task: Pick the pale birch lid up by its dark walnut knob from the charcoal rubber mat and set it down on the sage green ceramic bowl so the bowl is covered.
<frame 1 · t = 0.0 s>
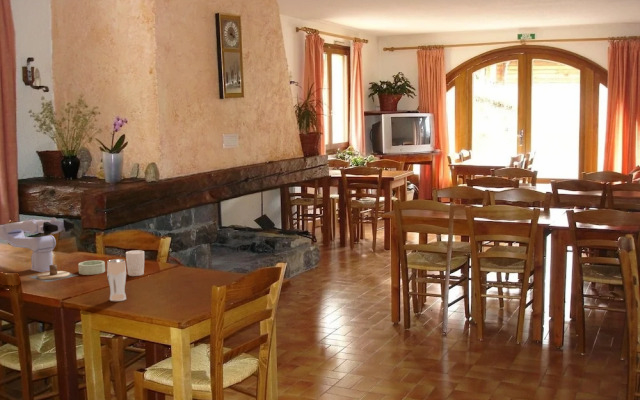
hand: (65, 227, 308), 22 cm above the table, tool horizontal, fingers open, 7 cm apart
mat: (53, 277, 309), on the table
beer glass: (118, 300, 272), on the table
lid: (53, 276, 309), point 1 cm above the table, touching mat
white cup: (136, 274, 313), on the table
bowl: (92, 273, 316), on the table
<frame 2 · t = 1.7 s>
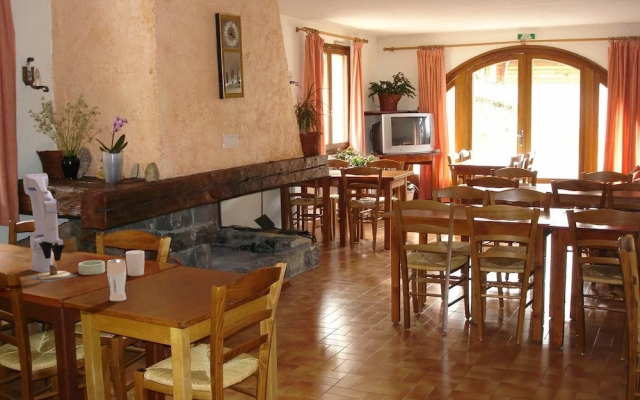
hand: (52, 259, 308), 8 cm above the table, tool pointing down, fingers open, 7 cm apart
nothing on the table moved.
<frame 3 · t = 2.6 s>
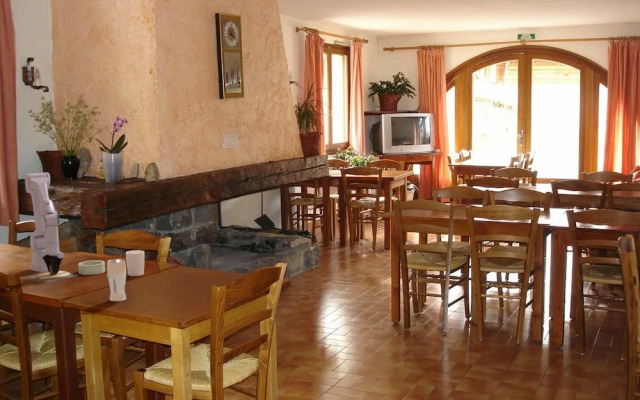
hand: (53, 272, 308), 2 cm above the table, tool pointing down, fingers closed on lid, 3 cm apart
lid: (53, 276, 309), point 1 cm above the table, touching gripper, mat
everything else where it was.
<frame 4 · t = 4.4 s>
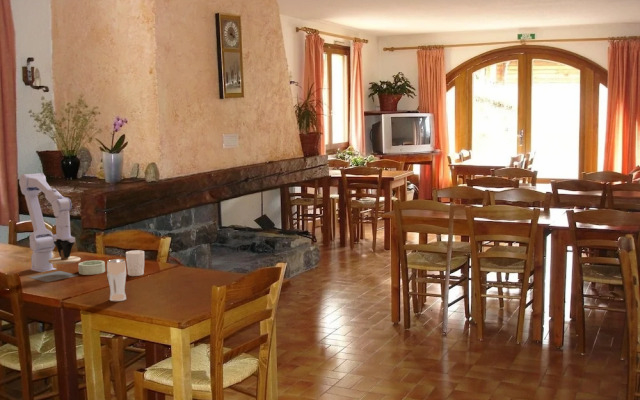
hand: (64, 257, 310), 8 cm above the table, tool pointing down, fingers closed on lid, 3 cm apart
lid: (64, 261, 310), point 7 cm above the table, touching gripper
everything else where it was.
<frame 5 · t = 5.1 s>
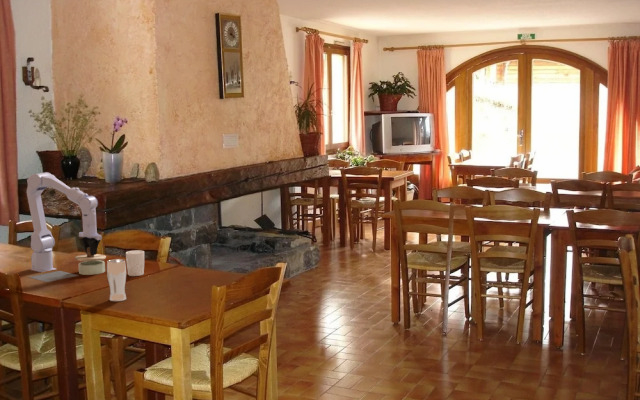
hand: (91, 254, 315), 8 cm above the table, tool pointing down, fingers closed on lid, 3 cm apart
lid: (90, 258, 315), point 7 cm above the table, touching gripper
everything else where it was.
when the fingers open (7 cm above the table, at t = 5.7 s): lid stays where it is, resting on bowl.
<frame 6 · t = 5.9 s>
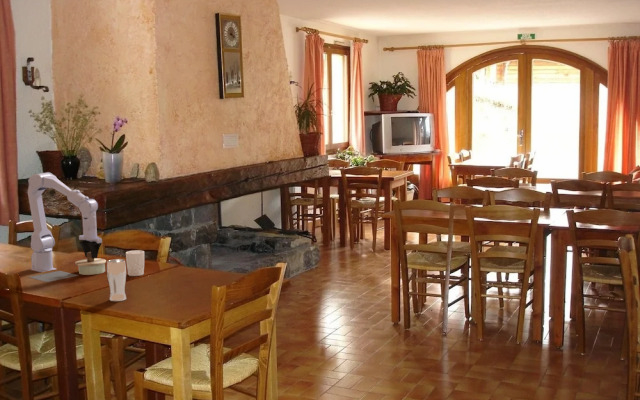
hand: (91, 257, 316), 7 cm above the table, tool pointing down, fingers open, 4 cm apart
lid: (90, 263, 316), point 4 cm above the table, touching bowl
everything else where it was.
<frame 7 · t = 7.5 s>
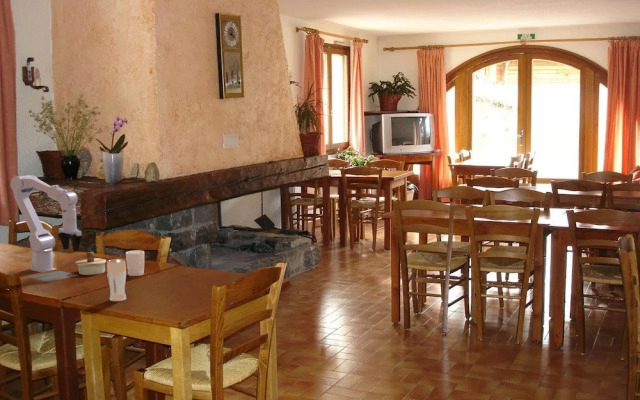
hand: (71, 250, 315), 10 cm above the table, tool pointing down, fingers open, 7 cm apart
nothing on the table moved.
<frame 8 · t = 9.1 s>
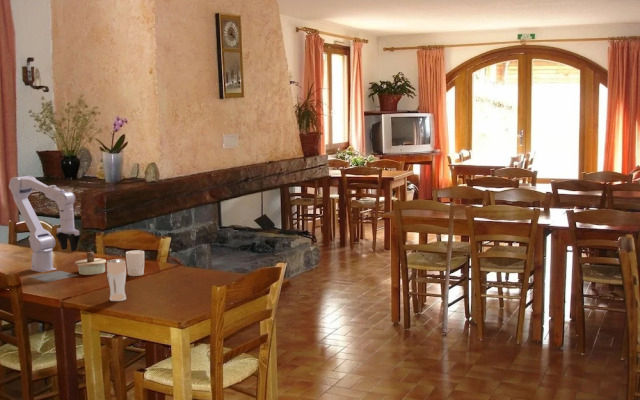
hand: (69, 250, 315), 10 cm above the table, tool pointing down, fingers open, 7 cm apart
nothing on the table moved.
at the end: lid 0.4 cm off-centre on the bowl, point 4.5 cm above the bowl's base; lid tilted 0°; the gripper is holding nothing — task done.
